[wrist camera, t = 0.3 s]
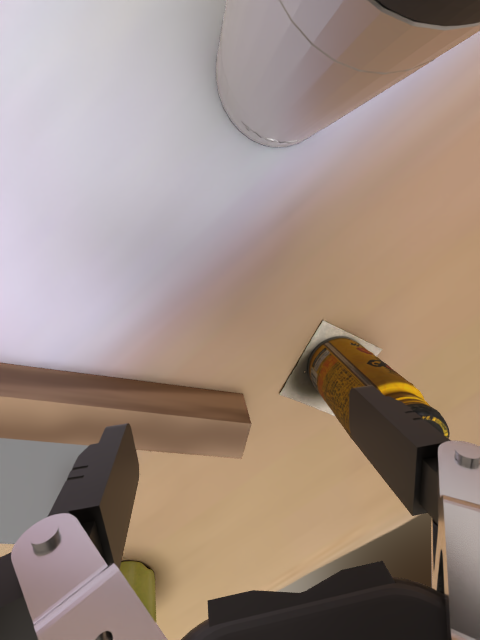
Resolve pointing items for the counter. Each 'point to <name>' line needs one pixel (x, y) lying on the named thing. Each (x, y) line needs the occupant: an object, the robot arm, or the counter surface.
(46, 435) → the push bar
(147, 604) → the plant pot
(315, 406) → the condiment
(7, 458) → the mat
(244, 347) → the counter surface
